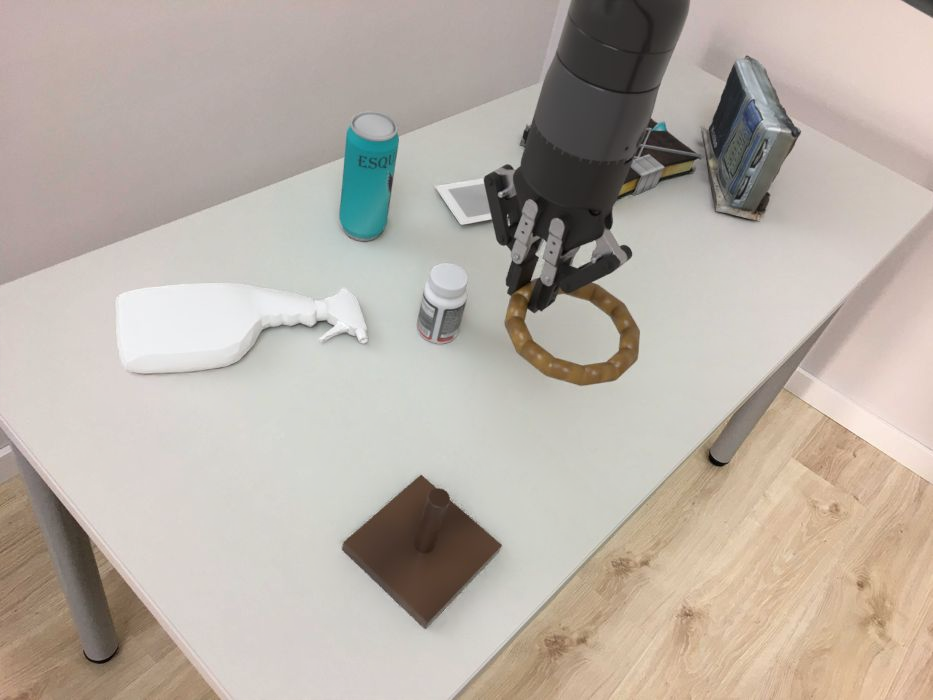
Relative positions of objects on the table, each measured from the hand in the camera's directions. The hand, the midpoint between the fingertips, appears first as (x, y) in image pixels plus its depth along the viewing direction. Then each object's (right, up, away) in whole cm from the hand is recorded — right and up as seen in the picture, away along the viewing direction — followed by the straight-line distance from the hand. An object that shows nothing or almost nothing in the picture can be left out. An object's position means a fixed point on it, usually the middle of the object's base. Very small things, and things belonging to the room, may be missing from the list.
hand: (527, 299), depth 67 cm
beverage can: (-18, +10, +30) cm, 36 cm away
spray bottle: (-28, -2, +16) cm, 33 cm away
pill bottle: (-8, -2, +22) cm, 23 cm away
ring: (+4, -2, -2) cm, 5 cm away
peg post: (-9, -22, +4) cm, 24 cm away
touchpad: (-1, +15, +39) cm, 41 cm away
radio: (+34, +23, +54) cm, 67 cm away
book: (+16, +24, +50) cm, 58 cm away
